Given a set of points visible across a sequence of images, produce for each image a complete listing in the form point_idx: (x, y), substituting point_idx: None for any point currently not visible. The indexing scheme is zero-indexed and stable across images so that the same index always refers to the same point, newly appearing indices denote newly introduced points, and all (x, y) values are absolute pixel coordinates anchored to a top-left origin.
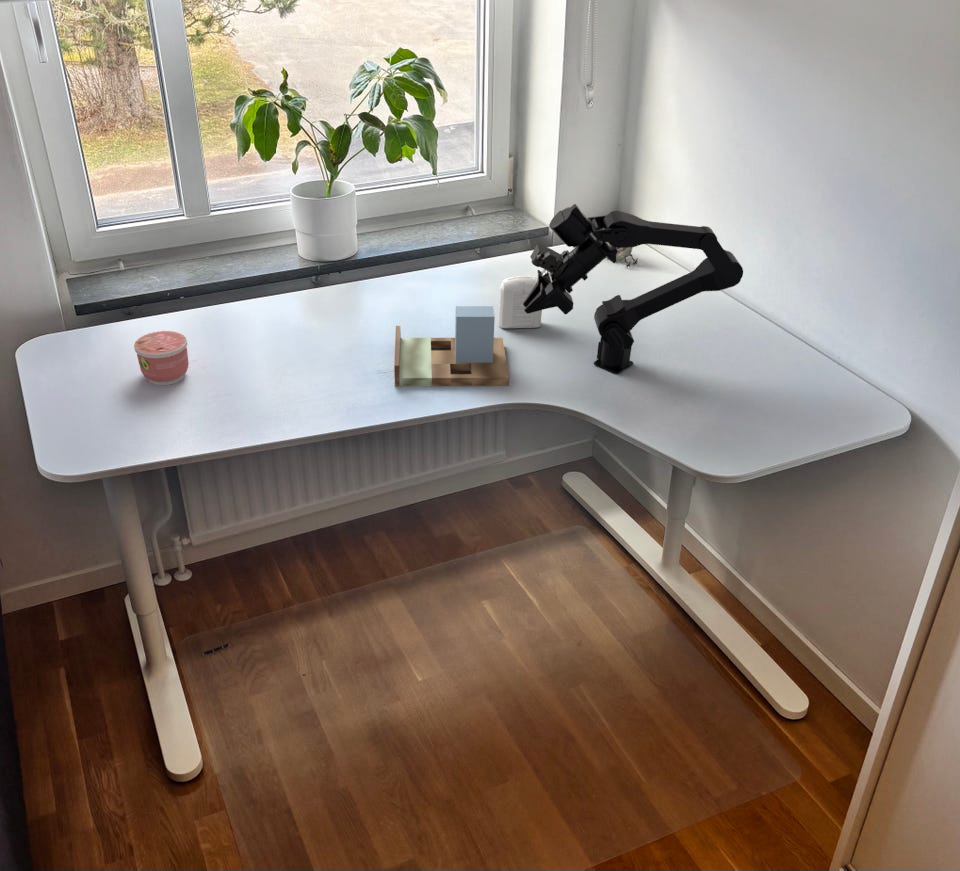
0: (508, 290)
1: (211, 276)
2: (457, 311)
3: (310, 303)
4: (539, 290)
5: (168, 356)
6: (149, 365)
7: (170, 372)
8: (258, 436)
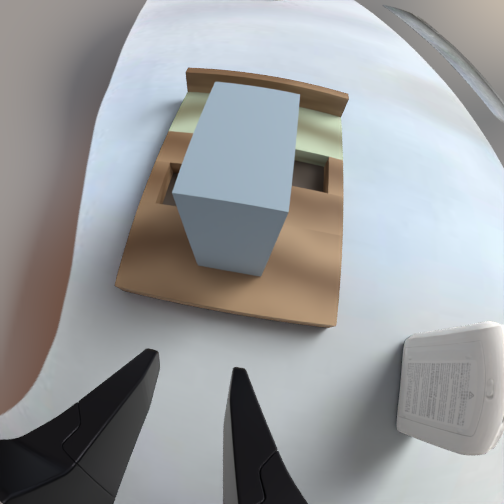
0: (475, 344)
1: (449, 57)
2: (256, 89)
3: (433, 87)
4: (232, 500)
5: None
6: None
7: None
8: (144, 23)
